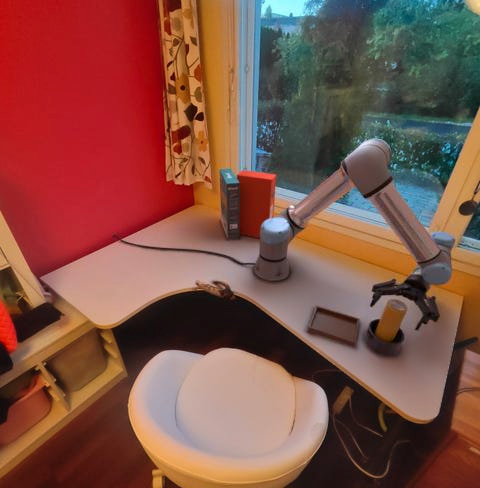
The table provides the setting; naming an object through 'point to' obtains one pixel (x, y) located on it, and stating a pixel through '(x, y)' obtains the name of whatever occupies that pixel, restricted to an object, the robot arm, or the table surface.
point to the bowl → (380, 345)
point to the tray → (334, 325)
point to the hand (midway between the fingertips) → (393, 315)
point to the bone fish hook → (217, 289)
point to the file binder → (255, 201)
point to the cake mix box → (229, 203)
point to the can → (391, 320)
